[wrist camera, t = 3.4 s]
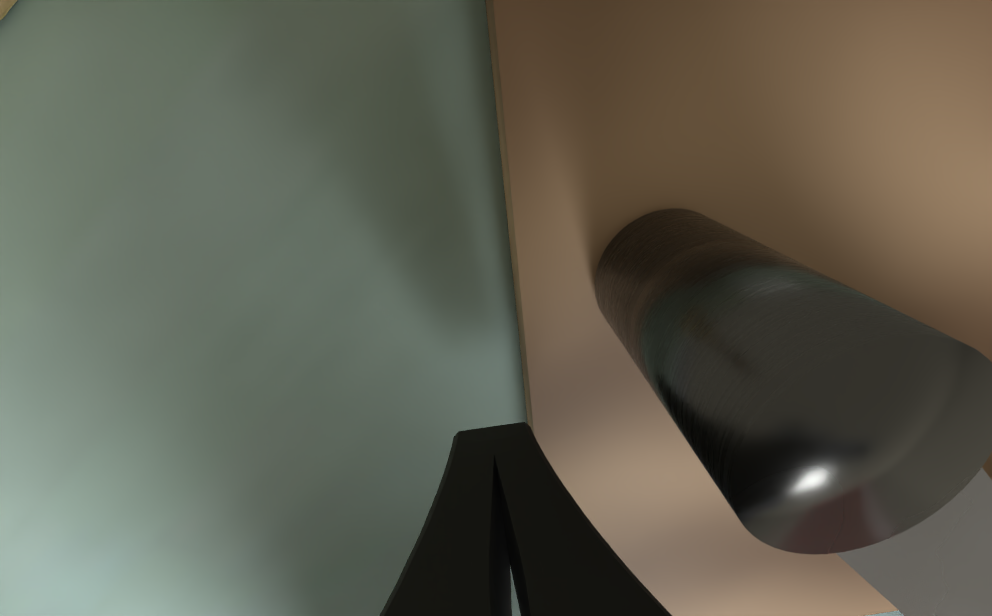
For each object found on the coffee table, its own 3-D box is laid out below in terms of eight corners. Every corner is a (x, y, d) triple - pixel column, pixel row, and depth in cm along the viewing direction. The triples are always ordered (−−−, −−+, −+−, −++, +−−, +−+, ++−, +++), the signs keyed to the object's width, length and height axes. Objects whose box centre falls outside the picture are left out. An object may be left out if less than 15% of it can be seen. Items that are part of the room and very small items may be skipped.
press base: (964, 549, 16) (1142, 708, 12) (546, 612, 15) (580, 800, 11) (1277, -167, 8) (2075, -417, 4) (477, -79, 8) (502, -261, 4)
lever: (1005, 564, 13) (1308, 824, 9) (920, 613, 14) (1158, 879, 9) (676, 176, 8) (986, 293, 3) (565, 282, 9) (696, 507, 4)
